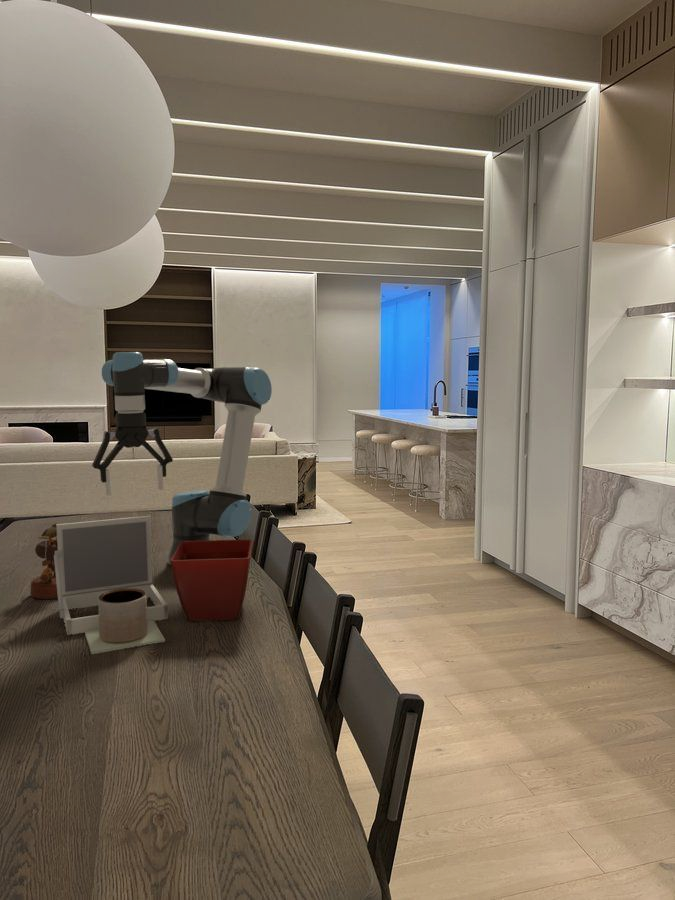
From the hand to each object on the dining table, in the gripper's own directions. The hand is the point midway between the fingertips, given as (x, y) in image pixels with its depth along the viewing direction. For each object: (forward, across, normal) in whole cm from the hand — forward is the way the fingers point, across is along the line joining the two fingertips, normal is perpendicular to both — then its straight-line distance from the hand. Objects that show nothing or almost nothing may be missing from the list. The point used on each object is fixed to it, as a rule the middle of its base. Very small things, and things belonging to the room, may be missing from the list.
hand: (134, 491), depth 180 cm
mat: (+29, +9, +24) cm, 39 cm away
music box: (+30, +21, -18) cm, 40 cm away
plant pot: (+30, -15, +18) cm, 38 cm away
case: (+30, +8, +7) cm, 32 cm away
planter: (+29, +9, +24) cm, 39 cm away
